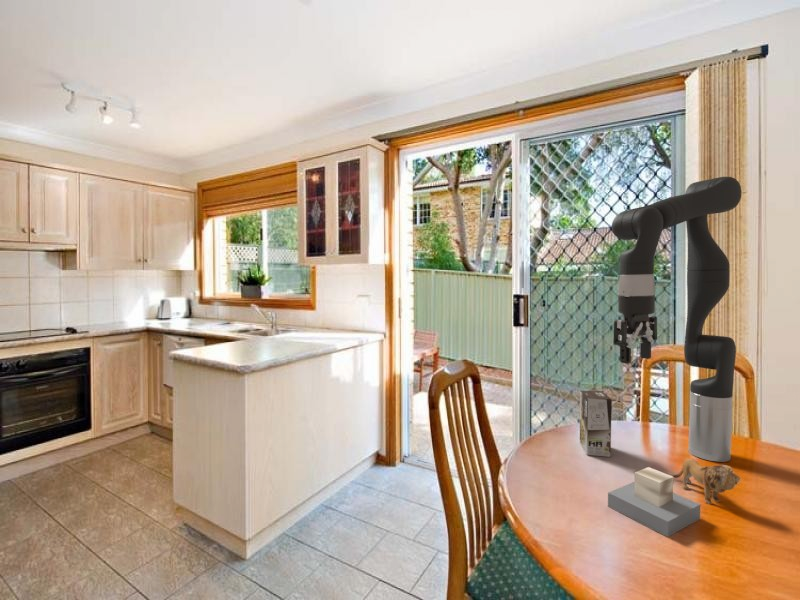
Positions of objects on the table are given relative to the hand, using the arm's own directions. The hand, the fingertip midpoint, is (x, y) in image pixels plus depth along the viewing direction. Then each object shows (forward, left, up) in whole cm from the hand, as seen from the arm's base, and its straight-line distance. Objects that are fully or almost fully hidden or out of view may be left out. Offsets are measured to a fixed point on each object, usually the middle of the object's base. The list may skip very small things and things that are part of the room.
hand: (635, 360), depth 97 cm
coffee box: (-7, -15, -29) cm, 34 cm away
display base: (+11, +11, -29) cm, 33 cm away
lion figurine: (-6, +12, -29) cm, 32 cm away
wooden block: (+11, +11, -26) cm, 30 cm away
